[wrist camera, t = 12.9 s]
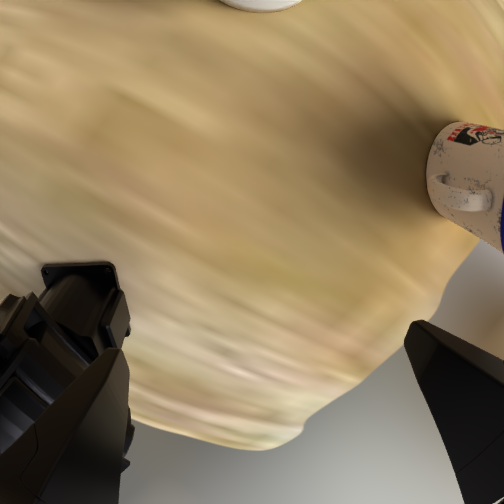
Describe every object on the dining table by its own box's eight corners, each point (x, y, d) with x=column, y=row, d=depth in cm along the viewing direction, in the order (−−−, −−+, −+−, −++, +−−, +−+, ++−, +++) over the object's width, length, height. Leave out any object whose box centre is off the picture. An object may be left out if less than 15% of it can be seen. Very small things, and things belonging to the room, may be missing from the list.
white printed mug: (486, 122, 17) (588, 152, 7) (481, 214, 21) (568, 268, 11) (390, 113, 17) (532, 135, 6) (391, 232, 21) (495, 320, 10)
